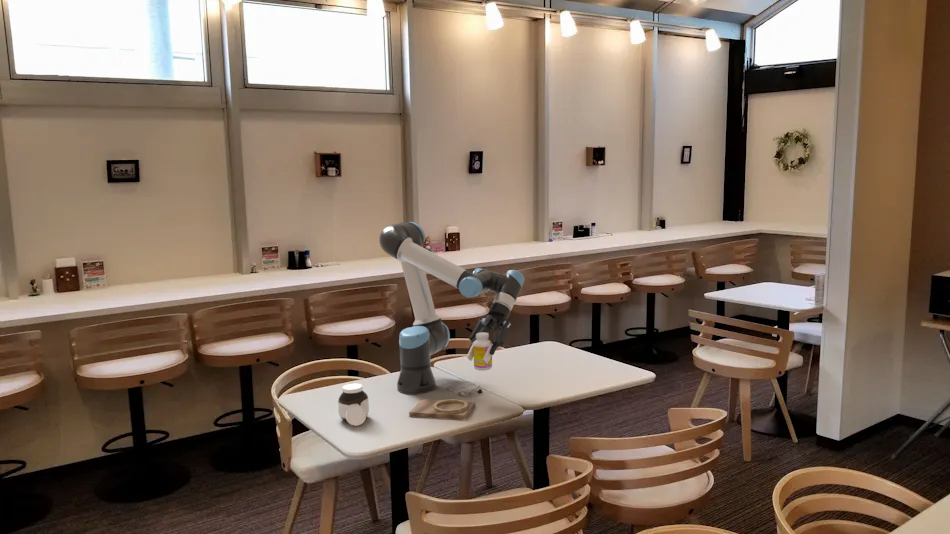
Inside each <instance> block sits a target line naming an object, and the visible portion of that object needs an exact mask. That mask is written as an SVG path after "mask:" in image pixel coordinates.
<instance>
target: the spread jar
mask: <svg viewBox="0 0 950 534" xmlns="http://www.w3.org/2000/svg"><path fill="white" fill-rule="evenodd" d="M369 402H370V401H369V396H368V394H367V393H366V392H365V391H364V389H363V385H362V384H361V383H348V384H344V385H343V386H342V393H341V394H340V395H339V397H338V401H337V406H338V408H337V409H338V414H339V417H340V419H342V420H343V421H345V422H346V421H347V423H348V424H349V425H351V426H353V425H354V427H357V426H360V425H362V424H363V423H364V422H365V421H366V418H367V416H368V414H369V411H370V410H369V409H370V406H369Z"/></svg>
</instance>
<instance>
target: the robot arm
mask: <svg viewBox="0 0 950 534" xmlns="http://www.w3.org/2000/svg"><path fill="white" fill-rule="evenodd" d="M425 235H426V234H425V231H424V230H423V228H422V227H421V226H420V225H419V224H418V223H416V222H413V221H404V222H398V223H393V224H390V225H389V224H388V225H387V226H385V227H384V228H383V229H382V230H381V232H380V234H379V245H380V247H381V250H383V251H384V253H386V254H387V255H388V256H390V257H392V258H393V259H396V260H397V261H398V262H399V263H400V265H401V268H402V271H403V277H404V280H405V283H406V288H407V291H408V296H409V300H410V304H411V307H412V311H413V314H414V321H413V323H412V326H411V327H406V328H404V329H402V330H401V331H400V332H399V337H398V339H399V340H398V344H399V345H398V346H399V361H400V371H399V375H398V378H397V383H396V390H397V391H398V392H400V393H403V394H409V395H410V394H413V395H414V394H415V395H416V394H424V393H429V392H432V391H434V390H435V389H436V387H437V381H436V379H435V376H434V373H433V371H432V367H431V366H432V365H431V357H432V356H433V355H435V354H436V353H439V352H441V351H443V350H444V349H445V348H446V347H447V346H448V344H449V342H450V339H451V335H450V334H451V333H450V330H449V327H448V326H447V325H446V324H445V323H444V322H443V321H442V318H441V317H442V316H441V315H438V314H437V313H436V309H435V304H434V301H433V297H432V293H431V289H430V285H429V281H428V278H427V274H426V273H428V274H429V275H432V276H433V277H436V278H437V279H438V280H441V281H443V282H445V283H446V284H449V285H451V286H452V287H454V288H456V289H457V290H458V291H459V292H460V294H461V295H462V296H463V297H465V298H470V299H471V298H475V297H478V296H479V295H482V294H483V293H486V292H488V291H489V292H491V293H496V294H495V297H494V299H493V301H492V304H491V305H490V307H489V309H488V315H487V316H486V317H485V318H484V317H481V316H479V317H478V320H477V323H476V325H475V326H474V328H473V330H472V331H471V334H469V337H468V340H469V341H470V346H469V347H468V350H469V351H468V353H467V355H466V358H467V359H468V360H469V362H470V361H471V362H472V360H474V346H473V344H474V341H476V340H477V338H476V334H477V333H489V332H490V331H491V330H493V336H492V341H491V343H492V344H490V345H489V347H488V349H487V352H486V354H485V356H484V358H483V360H484V361H485V363H487V364H488V362H489V360H490V358H491V356H492V357H493V355H494V354H495V352H496V350H497V348H499V347H500V348H503V347H504V344H505V341H506V338H507V336H508V332H509V330H510V329H511V327H512V324H511V322H510V321H509V320H508V319H509V317H510V315H511V311H512V309H513V307H514V305H515V303H516V301H517V299H518V297H519V295H520V293H521V290H522V289H523V286H524V282H525V276H524V274H523V273H521V272H520V271H518V270H517V269H516V270H515V269H510V270H507V272H506V273H505V274H504V273H499V272H495V271H492V270H489V269H486V268H478V267H477V268H475V269H474V270H473V272H471V271H468V270H467V269H465V268H462V267H461V266H460V265H457V264H455V263H454V262H451V261H449V260H448V259H446V258H444V257H442V256H440V255H438V254H437V253H434V252H432V251H430V250H428V249H427V248H425V247H424V243H425V241H426V236H425Z"/></svg>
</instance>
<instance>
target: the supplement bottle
mask: <svg viewBox="0 0 950 534" xmlns="http://www.w3.org/2000/svg"><path fill="white" fill-rule="evenodd" d="M489 337H490V334H489V332H487V333H477V334H476V338H477V340H476V341H474V344H473V346H474V357H473V366H474V367H473V368H474V369H475V371H476V370H477V371H489V370H491V369H492V368H493V355H492V356H491V358H490V360H489V362H488V364H487V363H485V361H484V360H483V358H484V356H485V354H486V352H487V349H488V347H489V345H490V344H492V341H491V340H490V339H489ZM492 345H493V344H492Z"/></svg>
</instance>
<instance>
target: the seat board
mask: <svg viewBox="0 0 950 534" xmlns="http://www.w3.org/2000/svg"><path fill="white" fill-rule="evenodd" d="M474 406H475V407H476V401H466V400H462V399H455V398H454V399H453V398H449V399H425V398H424V399H421V400H420V401H419V402H418V403H416V404H415V406H413V408H412V409H411V410H410V411H409V412H408V416H409V417H411V416H413V418H414V416H415V417H416V418H428V417H432V418H431V419H446V418H447V419H448V420H449V419H450V420H462V419H465V418H466V419H467V417H468V416H469V415H470V413H471V412H472V411H471V410H474V408H475V407H474ZM470 411H471V412H470ZM468 414H469V415H468ZM466 419H465V420H466Z"/></svg>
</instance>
